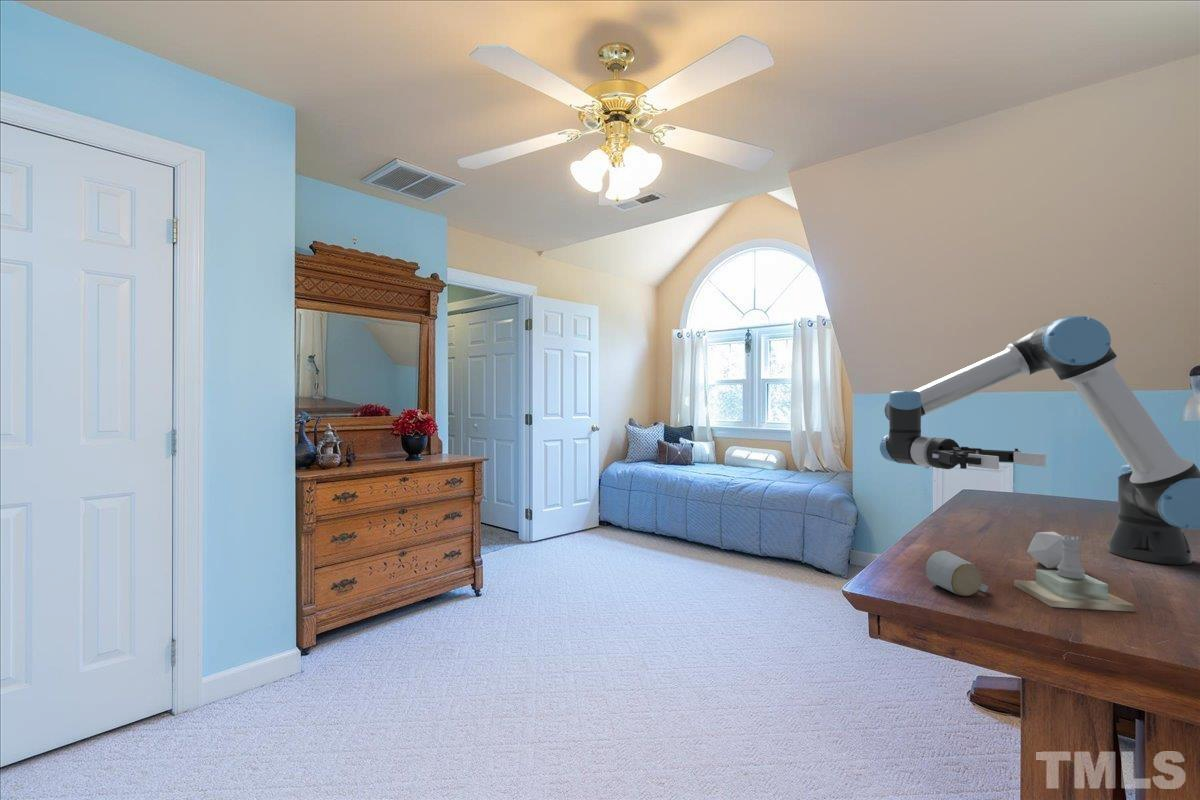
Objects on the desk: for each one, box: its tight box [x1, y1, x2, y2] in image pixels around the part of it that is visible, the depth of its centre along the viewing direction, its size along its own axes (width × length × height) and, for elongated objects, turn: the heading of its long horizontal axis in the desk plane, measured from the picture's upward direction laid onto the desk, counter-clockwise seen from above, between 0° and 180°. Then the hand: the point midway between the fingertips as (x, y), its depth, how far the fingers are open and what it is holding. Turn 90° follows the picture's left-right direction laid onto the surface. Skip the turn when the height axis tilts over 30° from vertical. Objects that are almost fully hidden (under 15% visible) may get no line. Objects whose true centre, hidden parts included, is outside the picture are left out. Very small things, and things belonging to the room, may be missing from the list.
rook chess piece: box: [1056, 534, 1086, 580], centre depth 112 cm, size 4×4×8 cm
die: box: [1026, 531, 1064, 569], centre depth 133 cm, size 8×9×10 cm
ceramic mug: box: [925, 550, 989, 597], centre depth 115 cm, size 10×8×7 cm
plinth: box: [1013, 569, 1135, 612], centre depth 112 cm, size 14×12×4 cm
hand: (1021, 461), depth 121 cm, fingers open, 13 cm apart
